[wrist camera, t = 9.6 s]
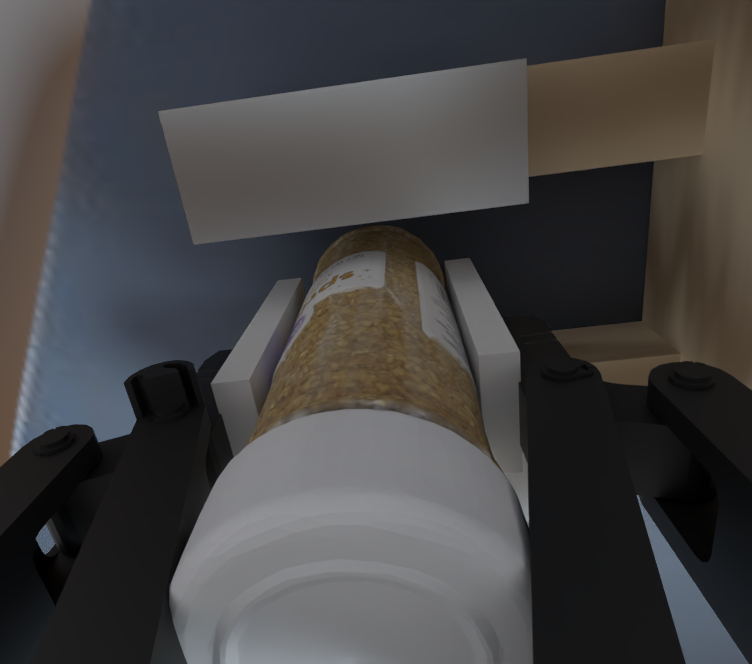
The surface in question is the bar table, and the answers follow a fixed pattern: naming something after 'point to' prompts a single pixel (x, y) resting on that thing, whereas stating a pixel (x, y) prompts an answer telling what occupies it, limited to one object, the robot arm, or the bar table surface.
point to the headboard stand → (517, 170)
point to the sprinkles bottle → (363, 491)
